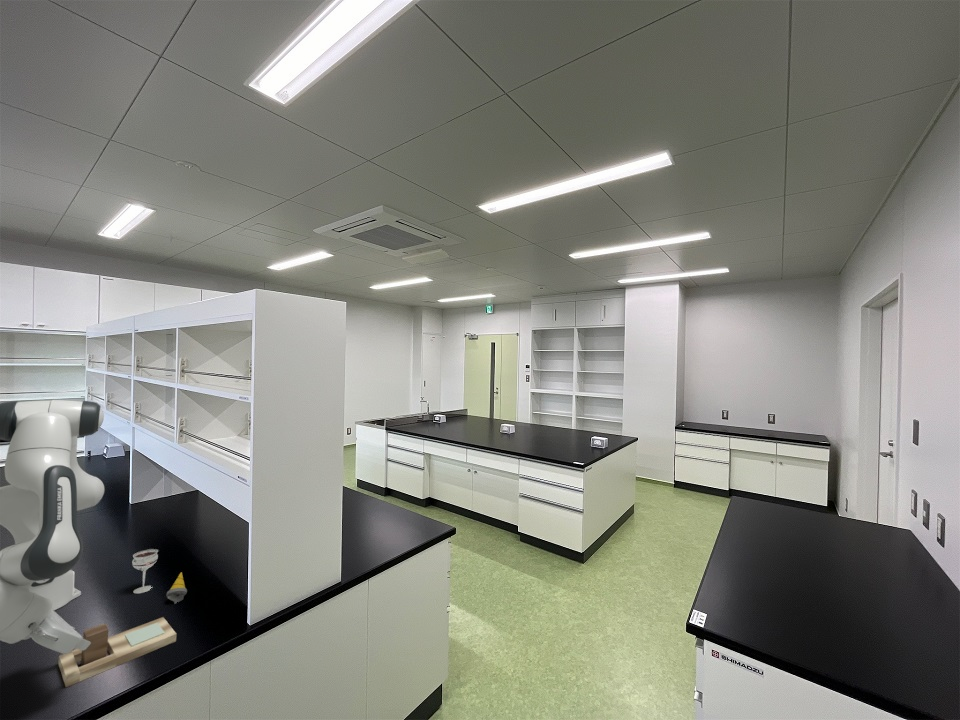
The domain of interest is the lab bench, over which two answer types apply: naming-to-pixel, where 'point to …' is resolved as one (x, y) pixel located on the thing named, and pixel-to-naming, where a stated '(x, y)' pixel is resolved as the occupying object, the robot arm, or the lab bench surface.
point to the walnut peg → (95, 644)
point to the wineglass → (144, 565)
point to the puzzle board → (118, 650)
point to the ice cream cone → (177, 590)
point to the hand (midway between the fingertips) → (79, 639)
